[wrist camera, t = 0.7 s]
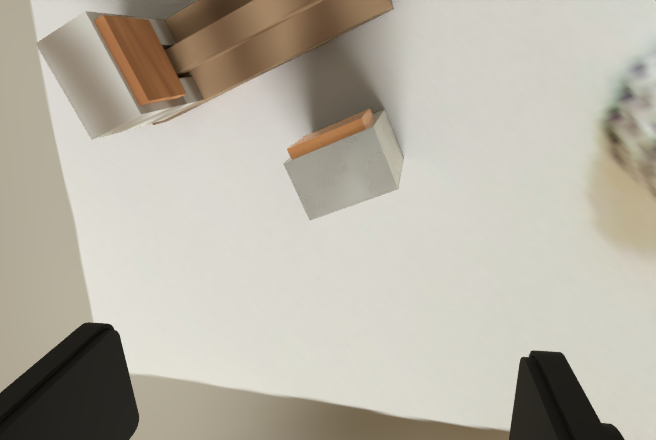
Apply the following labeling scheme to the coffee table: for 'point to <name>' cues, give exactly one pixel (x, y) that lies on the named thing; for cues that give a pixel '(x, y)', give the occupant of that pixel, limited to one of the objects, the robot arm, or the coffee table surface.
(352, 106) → the coffee table surface
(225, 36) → the rail
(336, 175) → the white and wooden block
